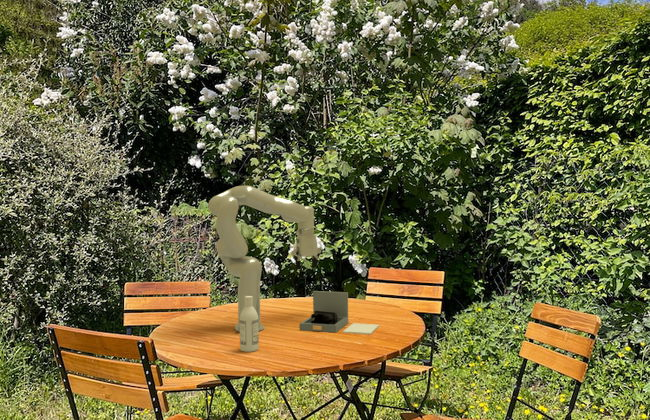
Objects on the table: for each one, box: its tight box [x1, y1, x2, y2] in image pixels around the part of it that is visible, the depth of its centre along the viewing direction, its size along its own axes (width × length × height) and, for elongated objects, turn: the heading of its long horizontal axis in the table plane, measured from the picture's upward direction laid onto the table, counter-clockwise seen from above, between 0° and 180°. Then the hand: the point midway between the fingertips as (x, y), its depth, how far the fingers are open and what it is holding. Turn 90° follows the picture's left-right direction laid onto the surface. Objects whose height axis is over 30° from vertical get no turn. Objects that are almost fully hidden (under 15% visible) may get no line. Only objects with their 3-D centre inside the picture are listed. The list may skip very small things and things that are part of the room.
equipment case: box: [299, 290, 349, 333], centre depth 240 cm, size 19×16×14 cm
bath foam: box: [239, 296, 260, 353], centre depth 204 cm, size 7×7×20 cm
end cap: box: [310, 311, 338, 325], centre depth 240 cm, size 10×7×7 cm
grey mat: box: [342, 322, 380, 336], centre depth 234 cm, size 16×12×1 cm
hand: (306, 268), depth 258 cm, fingers open, 9 cm apart
